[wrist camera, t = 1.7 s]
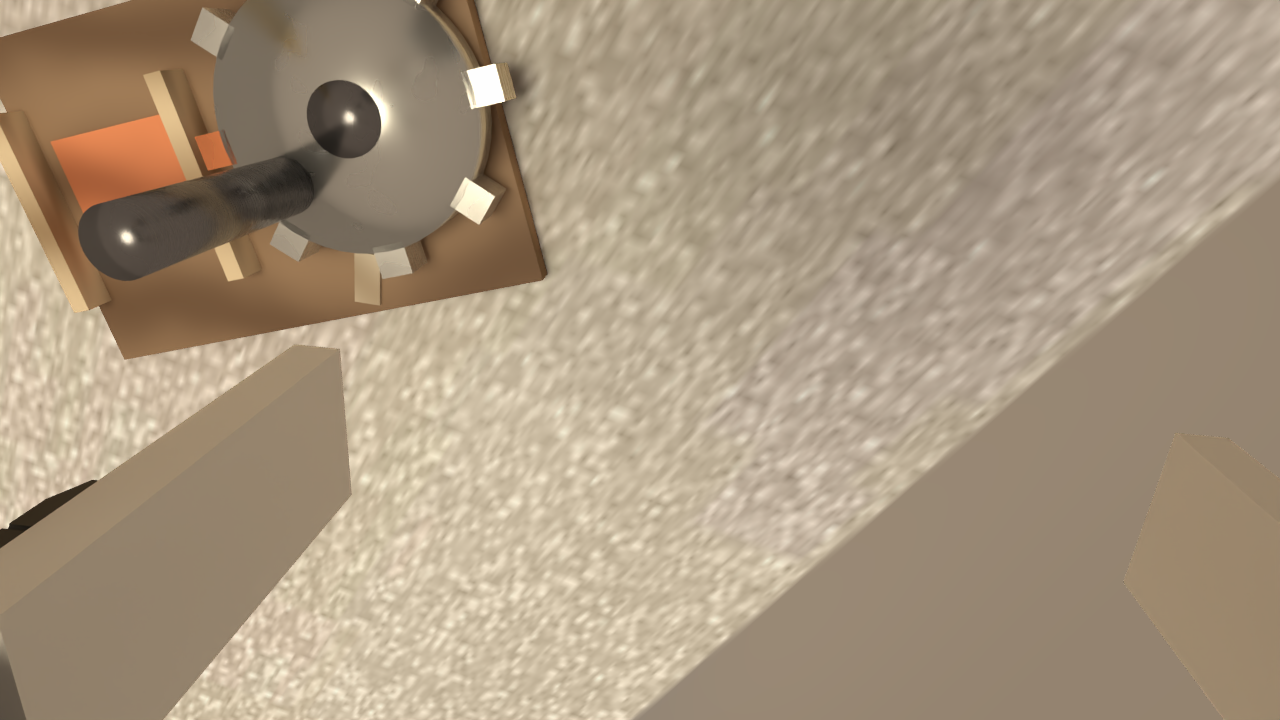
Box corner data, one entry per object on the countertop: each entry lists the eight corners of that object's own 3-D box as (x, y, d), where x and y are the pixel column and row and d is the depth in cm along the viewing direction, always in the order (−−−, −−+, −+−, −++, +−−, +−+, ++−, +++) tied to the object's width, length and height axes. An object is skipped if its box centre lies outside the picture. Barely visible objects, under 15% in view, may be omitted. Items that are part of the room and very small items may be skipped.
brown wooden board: (-6, 44, 36) (-57, 44, 34) (451, -84, 32) (429, -94, 30) (138, 352, 41) (102, 370, 39) (547, 274, 37) (535, 289, 35)
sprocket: (162, -15, 33) (-122, -41, 22) (464, -100, 30) (315, -178, 20) (282, 291, 37) (96, 395, 26) (552, 237, 35) (471, 327, 24)
